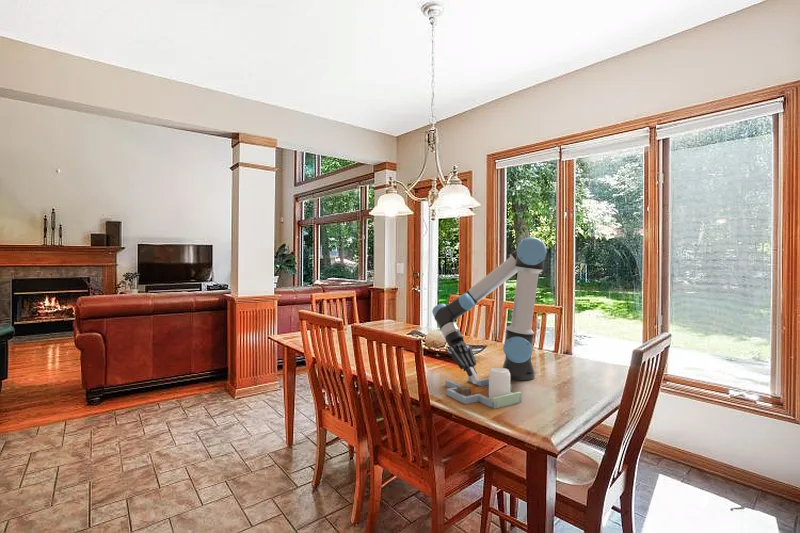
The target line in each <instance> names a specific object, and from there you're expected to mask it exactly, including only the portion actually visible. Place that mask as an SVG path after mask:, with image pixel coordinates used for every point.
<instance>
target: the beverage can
mask: <svg viewBox="0 0 800 533" xmlns="http://www.w3.org/2000/svg"><path fill="white" fill-rule="evenodd" d="M488 378H489V388H488V398H490V399H492V398H494V397H498V396H502V395H507V394H510V392H511V391H510V385H511V379H510V372H509V370H508V369H506V368H502V367H499V366H498V367H491V368H490V369H489V371H488Z"/></svg>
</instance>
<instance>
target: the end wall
mask: <svg viewBox="0 0 800 533" xmlns="http://www.w3.org/2000/svg"><path fill="white" fill-rule="evenodd" d="M522 395H523V394H522V392H521V391H517V392H513V393H511V394H507V395H502V396H498V397H494V398H492V403H493V404H494V403H495V402H497V408H496V409H499V408H502V407H506V406H510V405H511V406H512V405H515V404H519V397H520V396H522ZM491 409H494V406H492V407H491Z"/></svg>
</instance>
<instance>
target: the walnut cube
mask: <svg viewBox="0 0 800 533" xmlns="http://www.w3.org/2000/svg"><path fill="white" fill-rule="evenodd" d="M457 392H458V393H460V394H462V395H464V396H471V395H472V388H471V387H469V386H467V385H465V384H463V385H461V386H458V387H457Z"/></svg>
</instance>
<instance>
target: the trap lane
mask: <svg viewBox="0 0 800 533" xmlns="http://www.w3.org/2000/svg"><path fill="white" fill-rule="evenodd" d="M467 376H468V375H467ZM467 380H468V382H469V383H471V384H473V382H472V380H471V378H470V376H468V377H467ZM479 380H480V381H479V382H478V383H477V384H475V385H477V386H479V387H485V388H487V389H489V377H487V378H482V379H480V378H479ZM458 386H462V385H461V384H459V383H456V382H454V381H452V380H450V379H446V380H445V387H448V388H446V395H447V396H448V397H450V398H452V399H454V400H456V401H458V402H460V403H462V404H464V405H469V404H474V403H477V402H480V403H481V404H483V405H486V406H488V407H490V408H492V406H494V408H493V409H498V408H497V402H495V403H494V404H493V403H492V399H490V398H489V397H488V396H485V395H483V394H481V393H476V394H471V396H464V395H462V394H460V393H458V392H457V387H458ZM512 386H513V384H510V394H511V393H514V392H512V389H513V387H512ZM519 403H522V396H520V397H519ZM519 403H518V404H519Z"/></svg>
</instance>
